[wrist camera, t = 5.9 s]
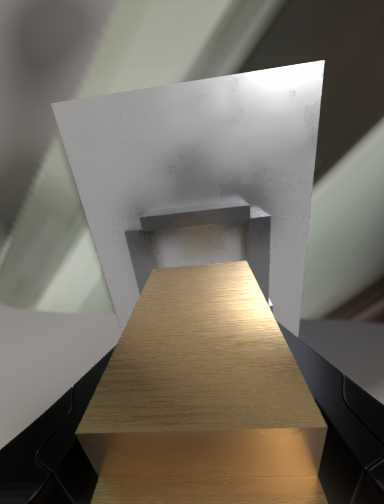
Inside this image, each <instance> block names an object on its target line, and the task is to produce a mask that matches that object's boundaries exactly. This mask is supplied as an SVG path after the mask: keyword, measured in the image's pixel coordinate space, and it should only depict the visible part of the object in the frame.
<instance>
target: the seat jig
mask: <svg viewBox="0 0 384 504" xmlns="http://www.w3.org/2000/svg"><path fill="white" fill-rule="evenodd" d="M324 61H325V60H323V61H317V62H311V63H304V64H298V65H292V66H285V67H279V68H273V69H266V70H260V71H254V72H247V73H241V74H235V75H228V76H222V77H215V78H209V79H203V80H196V81H190V82H184V83H177V84H171V85H165V86H158V87H152V88H146V89H139V90H133V91H127V92H120V93H114V94H108V95H101V96H95V97H89V98H82V99H76V100H70V101H63V102H57V103H51V105H52V108H53V111H54V115H55V118H56V121H57V124H58V127H59V131H60V134H61V137H62V140H63V144H64V147H65V150H66V153H67V157H68V160H69V163H70V166H71V169H72V173H73V176H74V179H75V182H76V186H77V189H78V192H79V195H80V199H81V202H82V205H83V208H84V211H85V215H86V218H87V221H88V224H89V228H90V231H91V234H92V237H93V241H94V244H95V247H96V250H97V254H98V257H99V260H100V263H101V266H102V270H103V273H104V276H105V279H106V283H107V286H108V289H109V292H110V296H111V299H112V302H113V305H114V308H115V312H116V315H117V318H118V321H119V325H120V328H121V331H122V333H123V331H124V328H125V326H126V324H127V322H128V320H129V318H130V316H131V314H132V311H133V309H134V307H135V305H136V303H137V301H138V299H139V297H140V294H141V292H142V290H143V288H144V286H145V284H146V282H147V280H148V277H149V275H150V273H151V271H152V269H157V268H168V267H179V266H190V265H202V264H213V263H224V262H235V261H247V263H248V265H249V267H250V269H251V271H252V273H253V275H254V277H255V279H256V281H257V283H258V286H259V288H260V290H261V292H262V294H263V296H264V298H265V300H266V302H267V304H268V306H269V308H270V310H271V312H272V314H273V316H274V318H275V320H276V321H278V322H279V323H280V324H281V325H283V326H284V327H285V328H286V329H288V330H289V331H290V332H291V333H293V334H294V335H295V336H296V337H298V332H299V323H300V312H301V302H302V291H303V281H304V270H305V260H306V249H307V239H308V228H309V218H310V207H311V197H312V186H313V176H314V166H315V155H316V145H317V134H318V124H319V113H320V103H321V92H322V82H323V71H324Z"/></svg>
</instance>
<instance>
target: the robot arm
mask: <svg viewBox="0 0 384 504" xmlns="http://www.w3.org/2000/svg"><path fill="white" fill-rule="evenodd" d="M276 322H277V324H278V326H279V328H280V331H281V333H282V335H283V337H284V339H285V341H286V343H287V345H288V347H289V349H290V351H291V353H292V355H293V357H294V359H295V361H296V363H297V365H298V367H299V369H300V371H301V373H302V376H303V378H304V380H305V382H306V384H307V386H308V388H309V390H310V392H311V394H312V396H313V398H314V400H315V402H316V404H317V406H318V408H319V410H320V412H321V414H322V416H323V418H324V421H325V423H326V425H327V427H328V428H327V433H326V438H325V442H324V447H323V452H322V457H321V462H320V466H319V471H318V478H319V481H320V483H321V486H322V489H323V491H324V494H325V496H326V499H327V502H328V504H384V405H383V404H382V403H380V402H379V401H378V400H376V399H375V398H373V397H372V396H371V395H370V394H368V393H367V392H366V391H365V390H363V389H362V388H361V387H359V386H358V385H357V384H355V383H354V382H353V381H352V380H350V379H349V378H348V377H347V376H345V375H343V373H342V372H340V371H339V370H338V369H337V368H335V367H334V366H333V365H331V364H330V363H329V362H328V361H326V360H325V359H324V358H323V357H321V356H320V355H319V354H318V353H316V352H315V351H314V350H312V349H311V348H310V347H309V346H308V345H306V344H305V343H304V342H303V341H301V340H300V339H299V338H298V337H296V336H295V335H294V334H293V333H291V332H290V331H289V330H288V329H286V328H285V327H284V326H283V325H281V324H280V323H279V322H278V321H276ZM115 348H116V346H115V347H114V348H113V349H111V350H110V351H109V352H108V353H107V354H106V355H105V356H104V357H103V358H102V359H101V360H100V361H99V362H98V363H97V364H96V365H95V366H94V367H92V368H91V369H90V370H89V371H88V372H87V373H86V374H85V375H84V376H83V377H82V378H81V379H80V380H79V381H78V382H77V383H76V384H74V386H73V387H71V388H70V389H69V390H68V391H67V392H66V393H65V394H64V395H63V396H62V397H61V398H60V399H58V400H57V401H56V402H55V403H54V404H53V405H52V406H51V407H50V408H49V409H48V410H46V411H45V412H44V413H43V414H42V415H41V416H40V417H39V418H37V419H36V420H35V421H34V422H33V423H32V424H30V425H29V426H28V427H27V428H26V429H24V430H23V431H22V432H21V433H20V434H18V435H17V436H16V437H15V438H14V439H13V440H11V441H10V442H9V443H8V444H7V445H6V446H4V447H3V448H2V449H1V450H0V504H90V503H91V500H92V497H93V494H94V491H95V488H96V485H97V482H98V479H99V477H98V475H97V473H96V471H95V469H94V467H93V466H92V464H91V462H90V460H89V458H88V456H87V455H86V453H85V451H84V449H83V447H82V446H81V444H80V442H79V440H78V438H77V436H76V435H75V433H76V430H77V428H78V426H79V424H80V422H81V420H82V418H83V416H84V413H85V411H86V409H87V407H88V405H89V403H90V401H91V399H92V396H93V394H94V392H95V390H96V388H97V386H98V384H99V382H100V379H101V377H102V375H103V373H104V371H105V369H106V367H107V365H108V362H109V360H110V358H111V356H112V354H113V352H114V350H115Z"/></svg>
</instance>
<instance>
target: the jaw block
mask: <svg viewBox="0 0 384 504" xmlns="http://www.w3.org/2000/svg"><path fill="white" fill-rule="evenodd" d="M327 428H328V427H327V425H326V423H325V421H324V418H323V416H322V414H321V412H320V410H319V408H318V406H317V404H316V402H315V400H314V398H313V396H312V394H311V392H310V390H309V388H308V386H307V384H306V382H305V380H304V378H303V376H302V373H301V371H300V369H299V367H298V365H297V363H296V361H295V359H294V357H293V355H292V353H291V351H290V349H289V347H288V345H287V343H286V341H285V339H284V337H283V335H282V333H281V331H280V328H279V326H278V324H277V322H276V320H275V318H274V316H273V314H272V312H271V310H270V308H269V306H268V304H267V302H266V300H265V298H264V296H263V294H262V292H261V290H260V288H259V286H258V283H257V281H256V279H255V277H254V275H253V273H252V271H251V269H250V267H249V265H248V263H247V261H235V262H224V263H213V264H202V265H190V266H179V267H168V268H157V269H152V271H151V273H150V275H149V277H148V280H147V282H146V284H145V286H144V288H143V290H142V292H141V294H140V297H139V299H138V301H137V303H136V305H135V307H134V309H133V311H132V314H131V316H130V318H129V320H128V322H127V324H126V326H125V328H124V331H123V333H122V335H121V337H120V339H119V341H118V343H117V345H116V348H115V350H114V352H113V354H112V356H111V358H110V360H109V362H108V365H107V367H106V369H105V371H104V373H103V375H102V377H101V379H100V382H99V384H98V386H97V388H96V390H95V392H94V394H93V396H92V399H91V401H90V403H89V405H88V407H87V409H86V411H85V413H84V416H83V418H82V420H81V422H80V424H79V426H78V428H77V430H76V433H75V435H76V436H77V438H78V440H79V442H80V444H81V446H82V447H83V449H84V451H85V453H86V455H87V456H88V458H89V460H90V462H91V464H92V466H93V467H94V469H95V471H96V473H97V475H98V477H99V479H98V482H97V485H96V488H95V491H94V494H93V497H92V500H91V503H90V504H328V502H327V499H326V496H325V494H324V491H323V489H322V486H321V483H320V481H319V478H318V471H319V466H320V462H321V457H322V452H323V447H324V442H325V438H326V433H327Z"/></svg>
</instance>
